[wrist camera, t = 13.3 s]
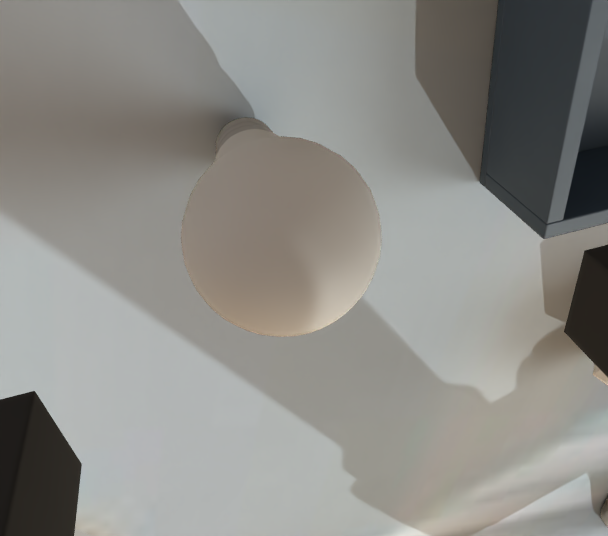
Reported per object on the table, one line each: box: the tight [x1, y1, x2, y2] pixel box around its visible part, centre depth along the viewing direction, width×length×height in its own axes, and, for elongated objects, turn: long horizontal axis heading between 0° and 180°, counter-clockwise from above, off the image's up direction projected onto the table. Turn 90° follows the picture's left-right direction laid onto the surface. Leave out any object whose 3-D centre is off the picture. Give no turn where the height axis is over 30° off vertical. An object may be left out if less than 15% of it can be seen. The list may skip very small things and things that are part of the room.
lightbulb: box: [181, 117, 382, 337], centre depth 18 cm, size 6×6×11 cm
